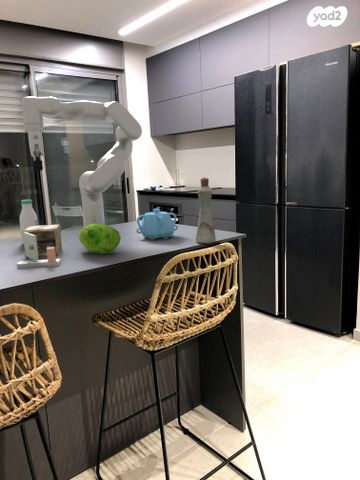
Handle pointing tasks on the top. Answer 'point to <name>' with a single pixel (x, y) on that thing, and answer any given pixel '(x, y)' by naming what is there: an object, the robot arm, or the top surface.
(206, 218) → the bottle
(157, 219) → the decorative pot
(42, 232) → the cabinet
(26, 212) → the milk bottle
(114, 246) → the lettuce
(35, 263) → the fader strip
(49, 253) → the fader knob
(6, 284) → the top surface
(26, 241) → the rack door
